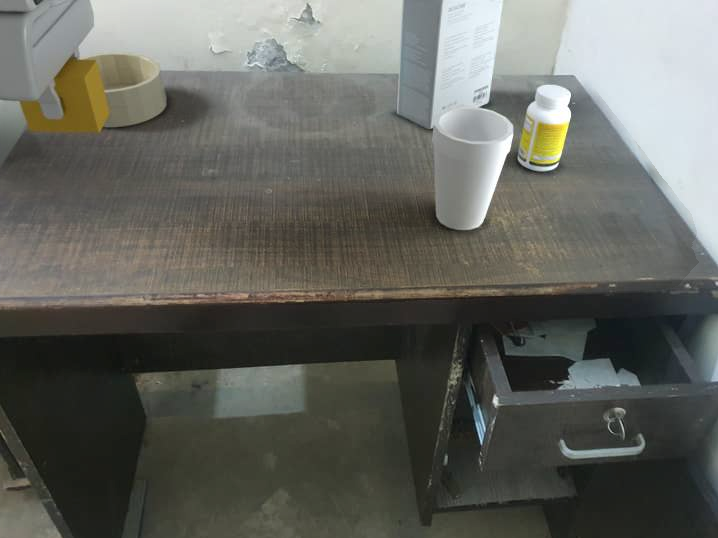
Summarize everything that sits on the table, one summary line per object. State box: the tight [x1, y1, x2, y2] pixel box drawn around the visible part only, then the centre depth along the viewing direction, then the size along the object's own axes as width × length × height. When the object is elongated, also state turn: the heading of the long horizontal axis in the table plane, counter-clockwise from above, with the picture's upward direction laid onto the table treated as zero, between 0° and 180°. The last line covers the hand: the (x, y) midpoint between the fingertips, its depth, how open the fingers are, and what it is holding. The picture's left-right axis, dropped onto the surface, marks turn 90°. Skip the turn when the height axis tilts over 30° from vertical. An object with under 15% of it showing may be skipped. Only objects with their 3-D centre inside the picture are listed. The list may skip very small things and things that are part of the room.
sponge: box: [18, 59, 110, 134], centre depth 66 cm, size 7×4×6 cm, turn 94°
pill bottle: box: [517, 84, 572, 172], centre depth 91 cm, size 6×6×11 cm
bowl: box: [80, 51, 168, 128], centre depth 98 cm, size 15×15×6 cm
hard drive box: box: [396, 0, 504, 130], centre depth 99 cm, size 16×8×20 cm, turn 136°
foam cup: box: [431, 107, 514, 231], centre depth 79 cm, size 10×9×13 cm
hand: (65, 103), depth 67 cm, fingers closed on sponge, 4 cm apart
